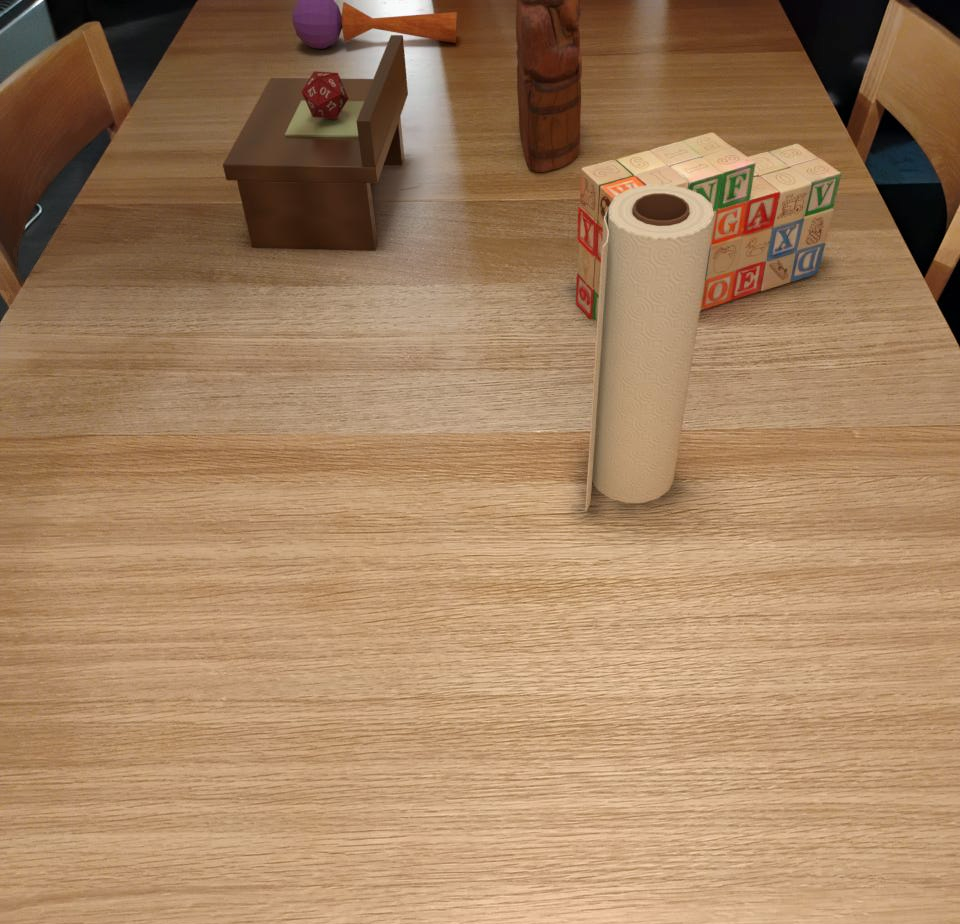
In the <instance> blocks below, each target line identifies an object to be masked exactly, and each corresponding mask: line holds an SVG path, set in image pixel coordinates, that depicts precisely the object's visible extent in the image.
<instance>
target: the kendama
mask: <svg viewBox="0 0 960 924" xmlns="http://www.w3.org/2000/svg"><path fill="white" fill-rule="evenodd" d="M291 18H292V19H291V20H292V25H293V28H294V30H295V33H296V36H297V37H298V39H300V41H302V43H303V44H305V45H306V46H308V47H311V48H312V49H323V50H325V49H327V48H329V47H331V46H333V45H334V44H335V43H336V42H337V40H338V39H340V35H341V33H342V37H343V42H344V43H345V42H348V41H350V40H352V39H354V38H356V37H358V36H361V35H362V34H365V33H367V32H369V31H371V30H379V31H384V32H385V31H386V32H390V33H394V34H395V33H396V34H400V35H407V36H413V37H417V38H424V39H430V40H435V41H441V42H446V43H450V44H451V43H452V44H457V32H458V31H457V30H458V29H457V27H458V12H457V11H449V12H438V13H437V12H436V13H435V12H434V13H423V14H411V15H399V16H398V15H397V16H385V17H371V16H369V14H366V13H365V12H363V11H361V10H359V9H357V8H356V7H354V6H352V5H350V4H348V3H347V2H345V1H343V2H342V9H341V10H340V7H339V5H338V4H337V3H336V1H335V0H297V1H296V3H295V5H294V7H293V11H292V17H291Z"/></svg>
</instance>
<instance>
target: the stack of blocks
mask: <svg viewBox="0 0 960 924" xmlns="http://www.w3.org/2000/svg"><path fill="white" fill-rule="evenodd" d="M841 177H842V172H840V171H839V170H838V169H836V168H834V167H833V166H832V165H830V164H829V163H827V162H826V161H825V160H823V158H820V157H818V156H816V155H815V154H813V153H812V152H811V151H809V150H808V149H806V148H805V147H804V146H802V144H801V145H800V144H799V143H793V144H790V145H787V146H784V147H779V148H777V149H773V150H771V151H765V152H761V153H757V154H753V155H749V156H746V154H744V153H742V152H741V151H740V150H738V149H737V148H736V147H733V146H732V145H730V144H729V143H727V142H726V141H725V140H723V139H722V138H721V136H718V134H716V133H715V132H708V133H705V134H701V135H698V136H697V135H696V136H693V137H690V138H686V139H683V140H681V141H676V142H672V143H669V144H666V145H661V146H658V147H655V148H654V147H653V148H652V149H650V150H644V151H641V152H637V153H633V154H630V155H626V156H623V157H619V158H617V159H610V160H605V161H602V162H599V163H596V164H592V165H587V166H584V167H582V168H581V169H580V186H579V189H580V190H579V191H580V192H579V205H578V208H577V232H576V233H577V234H576V237H577V262H576V264H577V265H576V268H577V269H576V271H577V272H576V284H575V286H576V288H575V304H576V305H577V306H578V308H579V309H580V310H581V311H582V313H584V314H585V316H587V317H588V319H590V320H597V317H598V301H599V285H600V269H601V254H602V238H603V222H604V216H605V214H606V212H607V210H608V208H609V206H610V204H611V202H612V201H613V199H614V198H615V197H616V196H617V195H619V194H621V193H623V192H624V191H626V190H628V189H632V188H636V187H640V186H644V185H672V186H677V187H683V188H687V189H689V190H692V191H694V192H696V193H699V194H701V195H702V196H703V197H705V198H706V199H707V200H708V201H709V202H710V203H711V204H712V208H713V212H714V223H713V229H712V236H711V242H710V249H709V255H708V262H707V268H706V275H705V281H704V288H703V294H702V301H701V307H700V312H702V310H707V309H709V308H712V307H715V306H718V305H723V304H725V303H728V302H730V301H733V300H737V299H739V298H744V297H746V296H750V295H753V294H756V293H758V292H764V291H767V290H770V289H773V288H776V287H780V286H783V285H785V284H786V285H787V284H789V283H793V282H796V281H799V280H802V279H803V280H804V279H805V278H809V277H812V276H815V275H818V273H819V270H820V266H821V263H822V259H823V255H824V251H825V248H826V241H827V240H828V235H829V232H830V228H831V225H832V221H833V220H832V219H833V216H834V211H835V209H834V206H835V202H836V199H837V194H838V190H839V186H840V181H841Z"/></svg>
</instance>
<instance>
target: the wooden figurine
mask: <svg viewBox="0 0 960 924" xmlns="http://www.w3.org/2000/svg"><path fill="white" fill-rule="evenodd" d="M515 1H516V4H515V5H516V6H515V9H516V10H515V37H516V38H515V41H516V47H517V48H516V59H517V60H516V61H517V63H516V90H517V91H516V93H517V106H518V108H517V109H518V128H519V136H520V140H521V144H522V147H523V154H524V159H525V161H526V164H527V167H528V169H529V170H531V171H533V172H535V173H545V172H549V171H553V170H557V169H561V168H563V167H565V166H567V165H569V164H571V163H572V162H574V161H575V160H576V158H577V157H578V156H579V153H580V148H581V115H582V114H581V112H582V84H581V80H582V77H583V62H582V61H583V60H582V59H583V54H582V52H581V32H580V21H581V20H580V18H581V14H582V9H581V4H580V2H581V0H515Z"/></svg>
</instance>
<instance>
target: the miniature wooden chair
mask: <svg viewBox="0 0 960 924" xmlns="http://www.w3.org/2000/svg"><path fill="white" fill-rule="evenodd" d="M404 43H405V42H404V34H391V35H390V36H389V38H388V42H387V44H386V47H385V49H384V51H383V54H382V57H381V59H380V61H379V64H378V66H377V69H376V71H375V74H374V76H373V78H340V79H341V82H342V84H343V86H344V89H345V91H346V93H347V96H348V98H349V99H348V100H347V102H346V104H345V105H344V107H343V109H342V110H341V112H340V114H339V115H338V117H337V119H333V118H318V117H312V114H311V112H310V110H309V108H308V105H307V103H306V101H305V99H304V96H303V94H302V92H301V91H302V90H303V88H304V87H305V85H306V83H307V82H308V80H309V79H310V77H309V78H308V77H306V78H305V77H303V78H302V77H270V78H269V79H268V81H267V83H266V85H265V87H264V89H263V90H262V92H261V94H260V96H259V98H258V100H257V101H256V103H255V104H254V107H253V109H252V111H251V112H250V114H249V116H248V118H247V120H246V121H245V123H244V124H243V127H242V129H241V130H240V132H239V134H238V136H237V138H236V139H235V142H234V143H233V145H232V147H231V149H230V151H229V153H228V154H227V156H226V157H225V158H224V159H225V160H224V162H223V163H222V168H223V172H224V176H225V180H226V181H235V182H236V183H237V187H238V191H239V195H240V199H241V205H242V209H243V213H244V218H245V222H246V225H247V231H248V235H249V239H250V243H251V248H265V249H266V248H269V249H270V248H271V249H278V248H279V249H305V250H306V249H308V250H309V249H310V250H345V251H348V250H349V251H376V248H377V245H378V233H377V226H376V219H375V211H374V202H373V195H372V186H371V184H378V182H379V180H380V176H381V174H382V171H383V168H384V166H403V164H404V161H405V150H404V149H405V148H404V138H403V130H402V129H403V128H402V119H401V116H402V113H403V110H404V107H405V104H406V101H407V99H408V96H409V90H408V80H407V79H408V77H407V65H406V55H405V45H404Z"/></svg>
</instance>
